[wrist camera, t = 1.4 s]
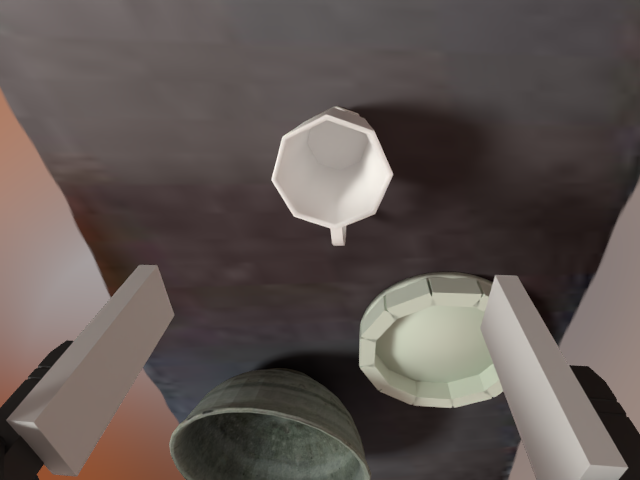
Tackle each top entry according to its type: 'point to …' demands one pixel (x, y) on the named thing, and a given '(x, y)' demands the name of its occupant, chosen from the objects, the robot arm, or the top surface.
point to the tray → (430, 341)
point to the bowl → (269, 432)
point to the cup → (332, 171)
